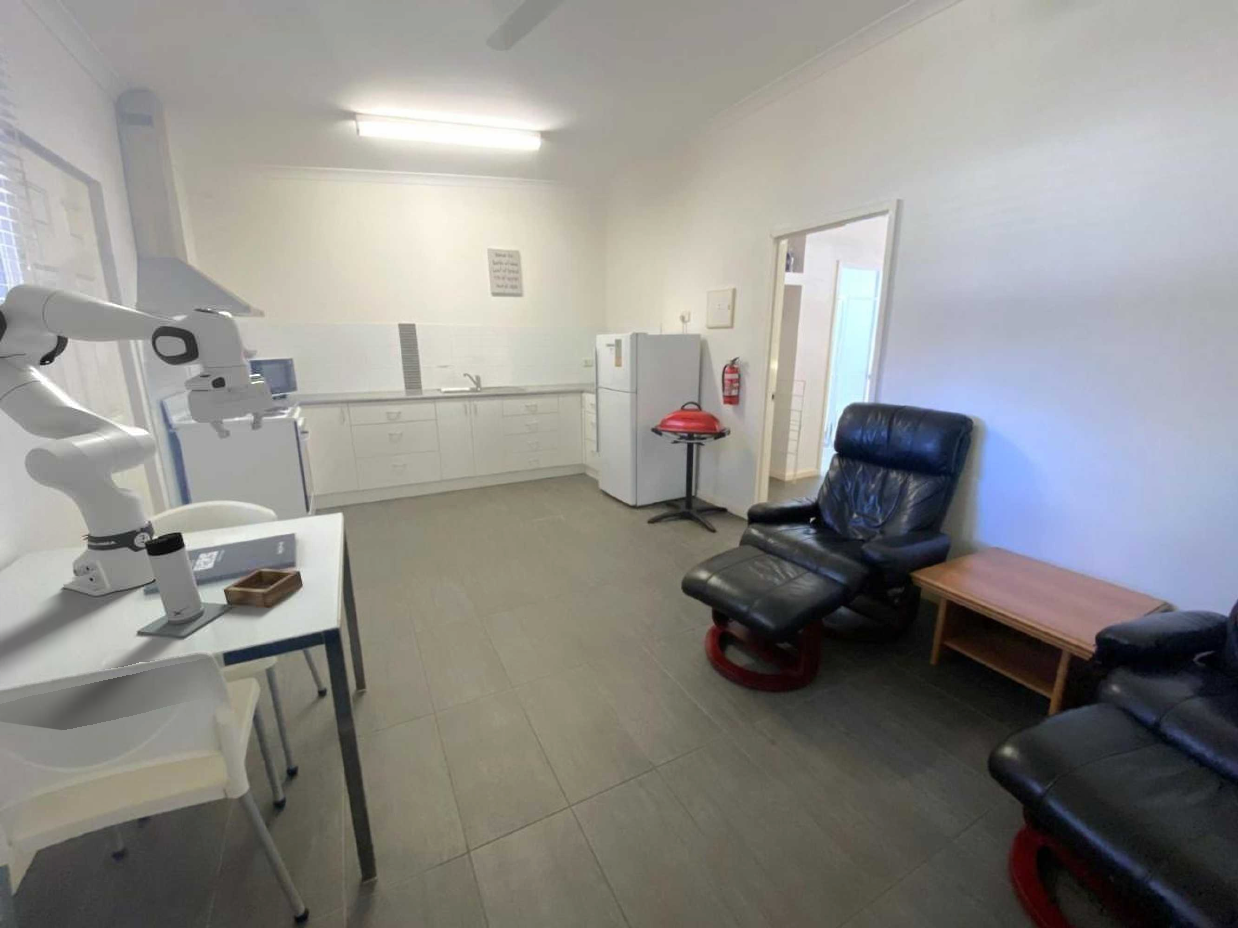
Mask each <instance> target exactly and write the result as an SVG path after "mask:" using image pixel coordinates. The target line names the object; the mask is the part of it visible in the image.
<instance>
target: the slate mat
mask: <svg viewBox="0 0 1238 928" xmlns="http://www.w3.org/2000/svg"><path fill="white" fill-rule="evenodd" d="M201 602H202V606H203V609H204V613H203V614H202V615H201V616H200V617H199V618H197V619H195V620H193V621H191V622H188V623H185V624H179V625H172V624H170V623H169V622H168V619H167V616H166V614H165V615H163V616H161V617H159V618H158V619H156V620H154V621H151V622H150V623H149V624H147V625H145V626H143V627H141V628H140V629H138V630H137V631H136V634H139V635H149V636H160V637H171V638H181V639H185V638H187V637H189V636H190V635H192V634H194V633H195V632H197V631H199V630H200V629H202V628H203V627H205V626H207V624H210V623H211V622H213V621H214V620H216V619H217V618H219V617H220V616H221V617H222V615H224V614H226V613H228V612H229V611H230V610H232V609H234V608H235V605H230V604H227V603H217V602H216V603H215V602H203V601H201Z"/></svg>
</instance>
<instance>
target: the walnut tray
mask: <svg viewBox="0 0 1238 928" xmlns="http://www.w3.org/2000/svg"><path fill="white" fill-rule="evenodd" d="M263 586H269V587H267V588H265V589H263V588H262V589H261V587H263ZM302 587H303V579H302V575H301V571H300V570H291V569H276V568H275V569H274V568H265V567H264V568H263V567H261V568H257V569H256V570H255V571H252V572H251V573H249V574H247V575H246V576H244V577H242V578H240V579H239V580H237V581H235V582H233V583H232V584H230V585H228V586H227V587H225V588H223V589H222V590H223V594H224V597H225V601H226V604H230V605H234V606H243V607H255V608H268V609H270V608H271V607H273V606H274V605H276V604H278V603H280V602H281V600H283V599H285V598H286V597H288V596H290V594H292V593H294V592H296V590H298V589H299V588H302Z"/></svg>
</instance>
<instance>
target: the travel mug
mask: <svg viewBox="0 0 1238 928" xmlns="http://www.w3.org/2000/svg"><path fill="white" fill-rule="evenodd" d="M157 537H158V538H156V539H153V540H151V541H150V540H149V541H147V542H145V543H144V544H145V547H146V550H147V555H148V557H149V561H150V565H151V568H152V571H153V574H154V578H155V580H154V582H155V584H156V587H157V589H158V593H159V597H160V600H161V603H162V606H163V609H164V613H165V615H166V616H167V619H168V622H169V623H170V624H172V625H179V624H185V623H188V622H191V621H193V620H195V619H197V618H199V617H200V616H201V615H202V614H203V613H204V609H203V606H202V602H203V601H202V599H201V596H200V593H199V592H200V591H199V589H198V585H197V582H196V577H195V574H194V571H193V568H192V563H191V560H190V557H189V554H188V550H187V548H186V544H185V542H184V537H183V534H182V532H180V531H179V532H172V533H171V532H170V533H166V534H163V535H159V536H157Z"/></svg>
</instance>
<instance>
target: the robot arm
mask: <svg viewBox="0 0 1238 928" xmlns="http://www.w3.org/2000/svg"><path fill="white" fill-rule="evenodd" d="M4 299H5V300H4V301H3V303H1V304H0V410H1V411H2V412H3V413H5V414H6V415H7V416H8V417H10V418H11V419H12V420H13V422H15V423H16V424H17V425H19V426H20V427H21V428H22V429H24V430H25V431H26V432H27V433H28V434H31V435H34V436H36V437H39V438H44V439H45V438H46V439H47V438H48V439H52V440H50V441H49V442H46V443H43V444H41V445H38V446H37V447H34V448H31V449H30V450H29V451H28V452H27V454H26V456H25V458H24V467H25V471H26V472H27V474H28V475H29V477H30V478H31V479H32V480H34V481H35V482H36V483H38V484H39V485H42V486H44V487H47V488H52V489H55V490H57V491H59V492H62V493H63V494H65V495H66V496H67V497H68V498H70V499H71V500H72V501H73V502H74V503H75V504H76V506H77V507H78V509H79V511H80V513H81V515H82V518H83V520H84V524H85V525H86V527H87V530H88V533H87V534H84V535H82V538H83V537H85V538H83V541H86V540H87V541H86V543H87V544H86V545H87V547H86V549H85V550H84V551H83V552H82V553H81V555H79V556H78V557H77V558H76V559H75V560H73V562H72V573H73V575H74V576H73V577H71V578H69V579H67V580H66V581H65V582H64V583H63V587H64V588H66V589H68V590H73V591H75V592H78V593H83V594H86V595H90V596H92V597H99V596H104V595H107V594H110V593H113V592H117V591H118V592H119V591H124V590H129V589H133V588H137V587H140V586H142V585H146V584H148V583H151V582H153V580H154V579H155V578H154V574H153V571H152V568H151V565H150V561H149V557H148V555H147V550H146V547H145V544H144V543H145V542H147V541H149V540H150V541H151V540H153V539H156V538H158V537H159V536H157V535H155V531H154V529H155V528H154V525H153V523H152V521H151V520H149V518H148V515H147V512H146V509H145V506H144V502H143V498H142V496H141V495H140V494H139V493H138V492H136V491H135V490H132V489H129V488H125V487H119V486H118V485H117V484H116V483H115V482H114V480H113V478H112V475H114V474H118V473H122V472H125V471H128V470H132V469H135V468H138V467H139V466H141V465H144V464H145V463H147V462H149V461H150V460H152V459H153V458H154V457H155V456H156V454H157V443H156V440H155V439H154V437H153V436H152V434H150V433H149V432H148V431H147V430H145V429H144V428H141V427H138V426H133V425H132V426H131V425H128V424H123V423H121V422H117V421H115V420H112V419H109V418H107V417H105V416H102V415H101V414H98V413H96V412H94V411H92V410H90V409H89V408H86V407H85V406H83V405H82V404H81V403H79V402H78V401H77V400H76V399H74V398H73V397H72V396H70V394H68V393H67V392H66V391H65V390H63V389H62V388H61V387H60V386H59V385H58V384H56V383H55V382H54V381H53V380H52V379H51V378H50V377H49V376H47V375H46V373H44V372H43V371H42V369H41V368H40V366H47V365H50V364H53V363H54V362H55V359H56V358H58V357H59V356H60V355H61V354H62V353H63V352H64V351H65V350H66V349H67V348H66V347H67V346H68V343H69V339H71V340H75V341H82V342H95V343H96V342H99V343H101V342H117V341H118V342H119V341H120V342H122V341H151V346H152V349H153V353H154V354H155V355H156V356H157V357H158V358H159V359H160V360H161V361H163V362H164V363H165V364H168V365H171V366H178V367H179V366H180V367H181V366H182V367H183V366H184V367H185V366H192V365H193V366H195V365H202V370H203V371H202V372H200V373H199V374H197V375H194V376H193V377H191V378H189V379H187V380H186V381H185V382H184V387H185V389H186V391H187V390H188V391H189V392H188V393H187V404H188V410H189V412H190V413H189V414H190V416H191V419H192V420H193V421H194V422H195V423H198V424H209V423H210V426H211V427H212V428H213V429H214V431H216V433H217V437H218V438H219V439H221V440H222V439H228V438H230V437H231V434H230V429H225V428H224V427H223V425H224V421H223V420H227V419H232V418H236V417H241V416H246V415H250V414H251V415H252V416H253V420H252V422H250V426H251V429H252V431H258V430H263V426H262V425H263V424H262V422H263V418H264V411H267V410H272V409H273V408H274V405H275V402H274V399H273V395H272V392H271V389H270V387H269V385H268V384H267V380H266V378H265V377H264V376H262V375H260V374H258V373H256V374H252V375H251V374H250V368H249V364H248V362H247V360H246V358H245V356H244V355H245V354H244V347H245V346H244V341H243V338H242V334H241V330H240V328H239V324H238V323H237V320H236V318H235V317H234V315H233V314H231V313H230V312H229V311H226V310H223V309H221V310H220V309H216V308H207V307H205V308H202V307H200V308H194V309H192V310H191V312H190V313H189V314H188V315H187V316H184V318H182V319H179V320H175V319H172V318H167V317H162V316H159V315H155V314H151V313H146V312H143V311H140V310H135V309H133V308H129V307H126V306H123V305H119V304H116V303H114V302H110V301H107V300H105V299H102V298H98V297H95V296H92V295H89V294H85V293H82V292H79V291H76V290H71V289H67V288H63V287H59V286H53V285H49V284H48V285H46V284H39V283H21V284H17V285H14V286H13V287H11V288H10V289H9V291H8V292H7V293H6V296H5V298H4ZM154 581H155V580H154Z"/></svg>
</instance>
